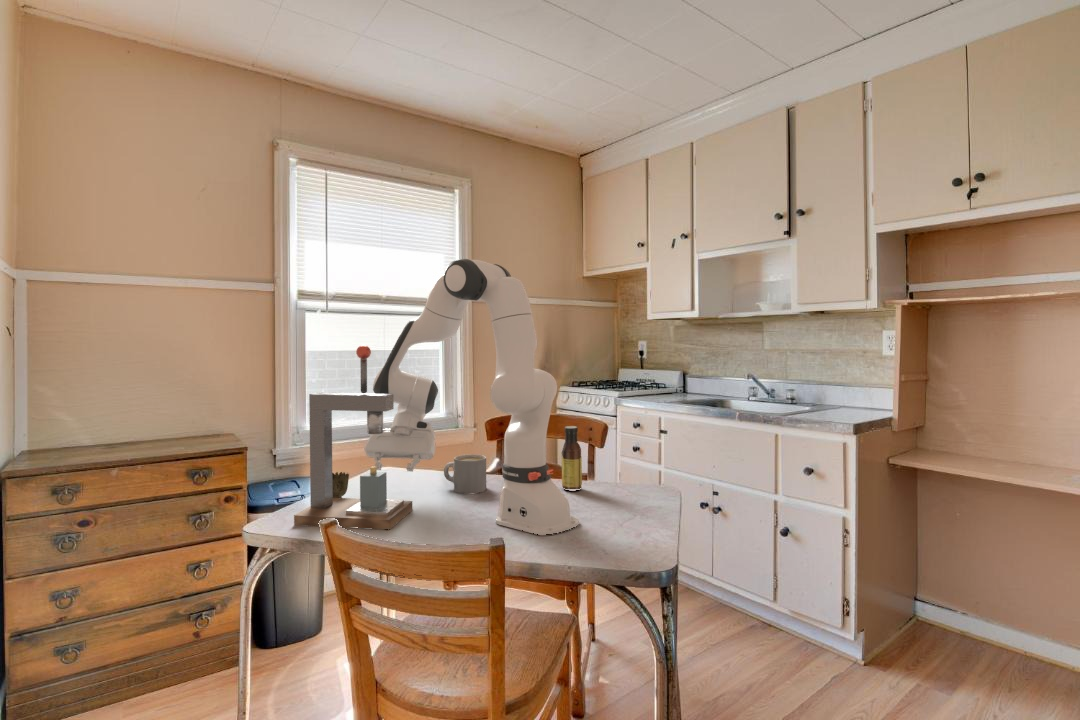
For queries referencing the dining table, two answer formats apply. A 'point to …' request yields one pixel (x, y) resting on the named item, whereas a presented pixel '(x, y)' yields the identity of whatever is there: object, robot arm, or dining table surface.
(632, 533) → the dining table surface
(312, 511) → the press base
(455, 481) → the coffee mug
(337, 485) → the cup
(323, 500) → the press frame
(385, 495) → the housing
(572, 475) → the sauce bottle
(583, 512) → the dining table surface
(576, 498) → the dining table surface
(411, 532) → the dining table surface
